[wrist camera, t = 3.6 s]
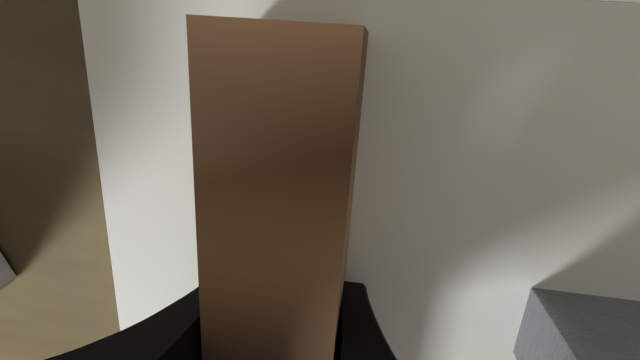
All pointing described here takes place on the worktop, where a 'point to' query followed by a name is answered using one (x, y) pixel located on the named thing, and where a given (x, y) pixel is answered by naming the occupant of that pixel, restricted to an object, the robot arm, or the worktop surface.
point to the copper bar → (273, 181)
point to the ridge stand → (415, 167)
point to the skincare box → (5, 273)
